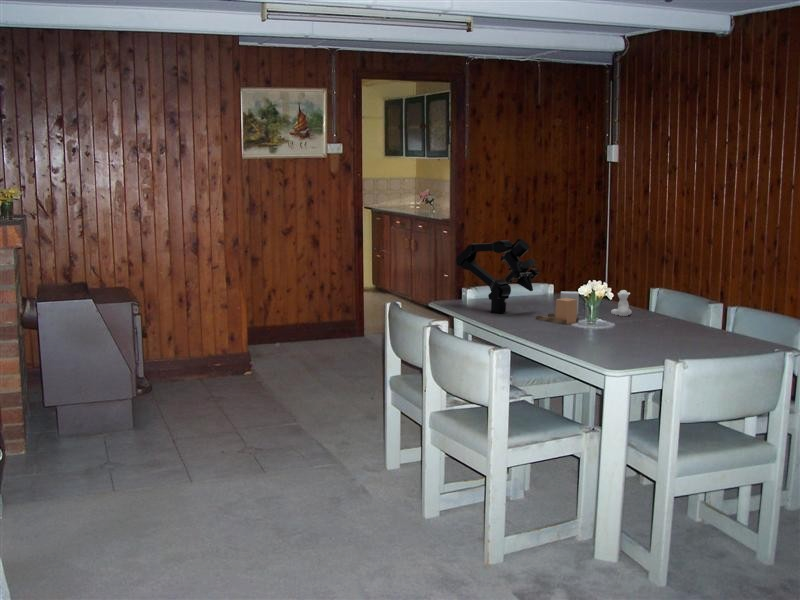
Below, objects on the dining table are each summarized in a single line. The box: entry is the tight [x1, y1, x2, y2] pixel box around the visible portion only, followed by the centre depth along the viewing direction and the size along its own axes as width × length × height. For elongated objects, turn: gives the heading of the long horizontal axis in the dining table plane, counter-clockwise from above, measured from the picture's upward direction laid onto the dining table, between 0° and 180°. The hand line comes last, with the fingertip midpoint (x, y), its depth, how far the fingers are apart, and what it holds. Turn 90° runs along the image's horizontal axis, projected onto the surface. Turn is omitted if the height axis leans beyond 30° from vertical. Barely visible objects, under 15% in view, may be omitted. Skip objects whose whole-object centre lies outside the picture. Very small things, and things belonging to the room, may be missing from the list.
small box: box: [559, 290, 580, 315], centre depth 404 cm, size 8×6×10 cm
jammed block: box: [555, 298, 578, 325], centre depth 380 cm, size 6×7×10 cm
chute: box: [535, 312, 580, 326], centre depth 383 cm, size 18×10×3 cm, turn 43°
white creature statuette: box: [610, 289, 632, 317], centre depth 404 cm, size 10×9×12 cm
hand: (532, 290), depth 393 cm, fingers closed
